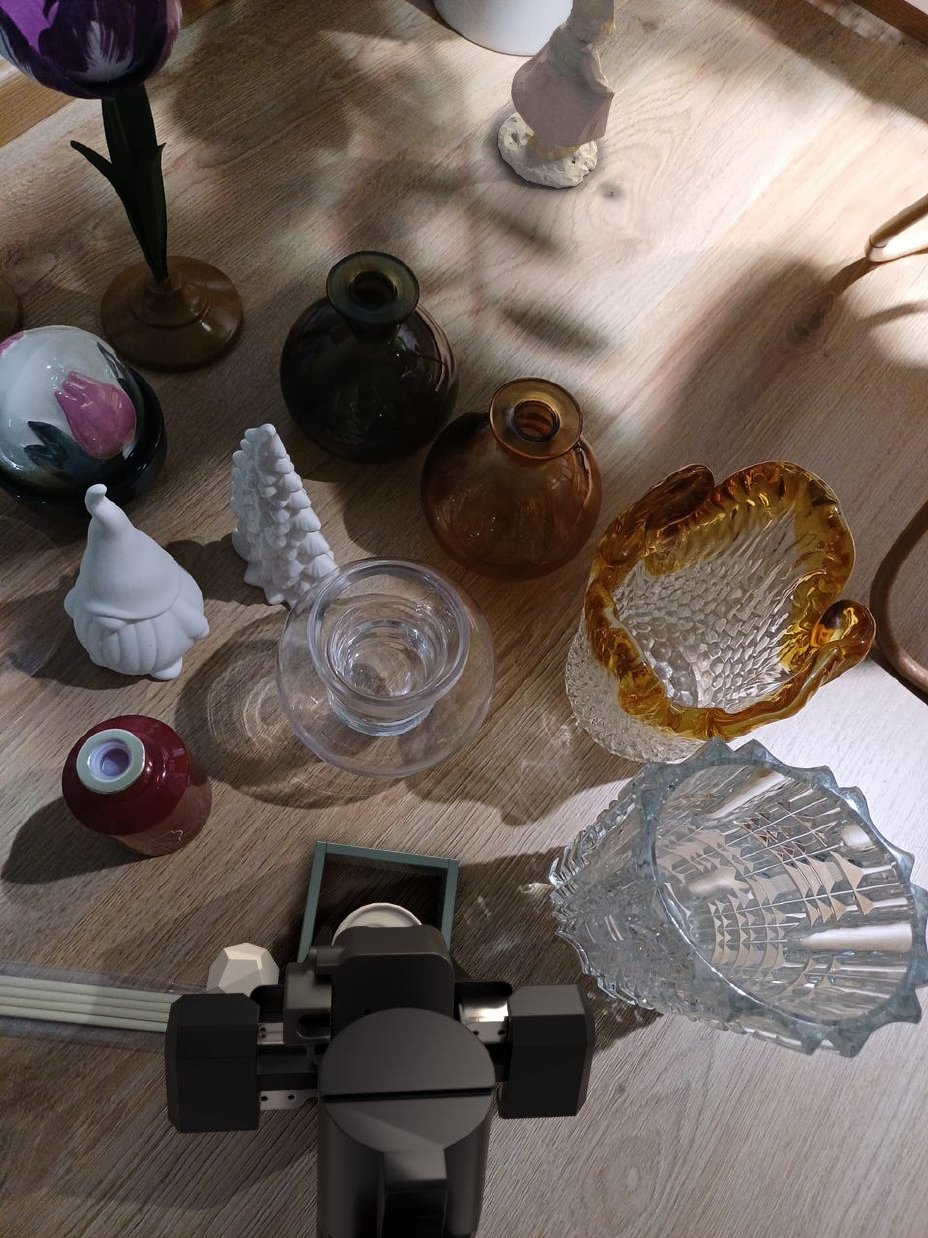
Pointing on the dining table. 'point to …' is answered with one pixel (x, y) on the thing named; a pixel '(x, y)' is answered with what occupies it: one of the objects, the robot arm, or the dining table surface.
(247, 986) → the polyhedron
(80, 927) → the dining table surface
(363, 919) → the beverage can
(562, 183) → the figurine
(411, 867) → the bottomless rectangular frame
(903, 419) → the dining table surface
